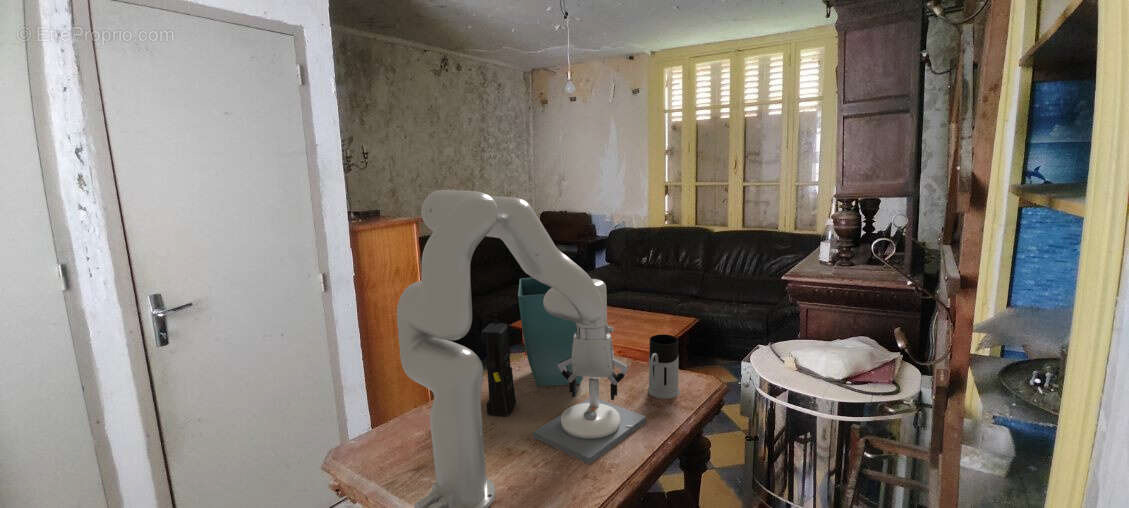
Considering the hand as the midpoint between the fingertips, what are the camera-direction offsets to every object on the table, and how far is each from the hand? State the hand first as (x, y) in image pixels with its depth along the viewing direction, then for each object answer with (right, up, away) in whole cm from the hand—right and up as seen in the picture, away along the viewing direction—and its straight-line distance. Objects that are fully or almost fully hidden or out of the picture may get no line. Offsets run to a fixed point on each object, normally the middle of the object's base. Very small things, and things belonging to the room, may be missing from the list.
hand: (593, 396), depth 129 cm
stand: (-1, -7, -4) cm, 8 cm away
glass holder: (+19, -3, +12) cm, 22 cm away
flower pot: (-9, -1, +25) cm, 27 cm away
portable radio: (-23, -6, +7) cm, 25 cm away
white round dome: (-1, -5, -4) cm, 7 cm away
